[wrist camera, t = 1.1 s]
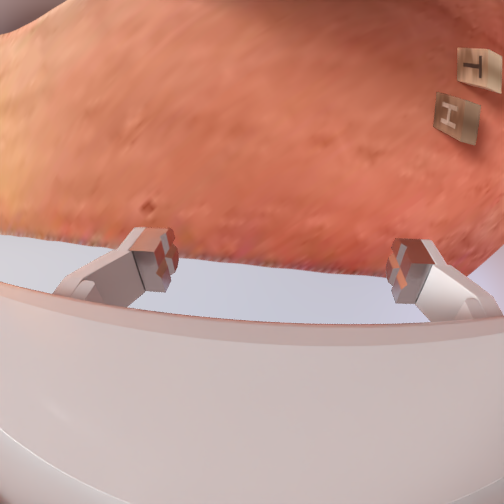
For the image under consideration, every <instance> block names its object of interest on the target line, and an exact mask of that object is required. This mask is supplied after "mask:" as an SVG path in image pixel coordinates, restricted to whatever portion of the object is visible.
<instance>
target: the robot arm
mask: <svg viewBox="0 0 504 504" xmlns="http://www.w3.org/2000/svg"><path fill="white" fill-rule="evenodd" d="M174 240H175V235H174V231H173V230H172V229H171V228H155V227H135V228H134V229H133V230H132V231H131V232H130V234H129V235H128V236H127V237H126V239H125V240H124V241H123V242H122V244H121V245H120V246H119V247H118V249H117V250H112V251H111V252H109V253H107V254H105V255H103V256H101V257H99V258H97V259H96V260H94V261H92V262H90V263H89V264H87V265H85V266H83V267H81V268H80V269H78V270H76V271H74V272H72V273H71V274H69V275H67V276H66V277H65V278H64V279H63V280H62V282H61V283H60V284H59V286H58V287H57V288H56V290H55V291H54V292H53V294H49V293H44V292H40V291H36V290H31V289H27V288H23V287H19V286H14V285H10V284H6V283H3V282H0V504H504V316H503V314H502V312H501V310H500V308H499V306H498V304H497V303H496V301H495V299H494V297H493V296H491V295H490V294H489V293H488V292H486V291H485V290H483V289H482V288H481V287H480V286H478V285H477V284H476V283H474V282H473V281H472V280H470V279H469V278H468V277H466V276H465V275H464V274H462V273H461V272H459V271H458V270H456V269H455V268H454V267H452V266H451V265H447V264H446V262H445V261H444V259H443V257H442V256H441V254H440V253H439V251H438V249H437V248H436V246H435V245H434V243H433V242H432V241H431V240H429V239H402V238H395V240H394V241H393V244H392V247H391V248H392V250H393V254H392V255H391V256H390V257H389V258H388V261H387V264H386V276H387V280H388V282H389V283H390V284H391V285H392V286H393V287H392V290H391V291H392V294H393V297H394V300H395V303H403V304H415V305H416V306H417V307H418V308H419V309H420V310H421V311H422V313H423V314H424V315H425V316H426V317H427V318H428V319H429V320H430V321H431V322H425V323H402V324H304V323H280V322H260V321H246V320H233V319H221V318H210V317H199V316H189V315H181V314H172V313H164V312H156V311H148V310H141V309H134V308H127V307H128V306H129V305H130V304H131V303H132V302H134V301H135V300H136V299H137V298H139V297H140V296H141V295H142V294H143V293H144V292H145V291H153V292H166V290H167V288H168V286H169V284H170V282H171V277H170V275H172V274H173V273H175V271H176V269H177V266H178V261H179V257H178V249H177V247H176V246H175V245H174V244H173V241H174Z"/></svg>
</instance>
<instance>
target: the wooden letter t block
mask: <svg viewBox="0 0 504 504" xmlns="http://www.w3.org/2000/svg"><path fill="white" fill-rule="evenodd" d="M457 81H459V82H462V83H465V84H468V85H470V86H474V87H478V88H482V89H486V90H489V91H493V92H496V93H500V94H501V87H502V56H500V55H498V54H497V53H495V52H493V51H491V50H489V49H480V48H457Z"/></svg>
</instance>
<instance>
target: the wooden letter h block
mask: <svg viewBox="0 0 504 504" xmlns="http://www.w3.org/2000/svg"><path fill="white" fill-rule="evenodd" d="M480 110H481V105H478V104H475V103H473V102H470V101H467V100H464V99H461V98H457V97H454V96H450V95H447V94H443V93H439V92H436V104H435V115H434V124H433V127H435V128H437V129H438V130H440V131H442V132H444V133H446V134H448V135H450V136H451V137H453V138H455V139H457V140H459V141H460V142H464V143H468V144H472V145H476V139H477V133H478V126H479V119H480Z"/></svg>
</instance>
